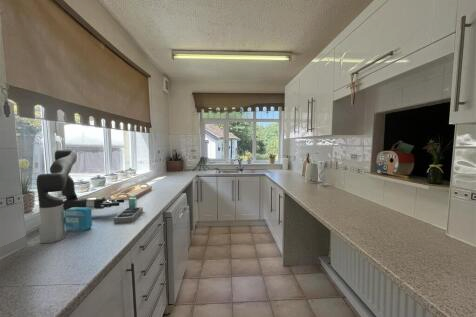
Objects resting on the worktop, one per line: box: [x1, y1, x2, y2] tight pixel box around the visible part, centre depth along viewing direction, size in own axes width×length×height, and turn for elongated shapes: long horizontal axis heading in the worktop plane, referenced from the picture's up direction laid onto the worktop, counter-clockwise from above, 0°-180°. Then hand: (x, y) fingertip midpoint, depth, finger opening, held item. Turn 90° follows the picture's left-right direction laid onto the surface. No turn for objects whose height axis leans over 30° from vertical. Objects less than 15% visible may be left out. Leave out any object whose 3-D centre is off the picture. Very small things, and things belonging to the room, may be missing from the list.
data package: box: [64, 207, 93, 232], centre depth 125 cm, size 12×4×12 cm, turn 89°
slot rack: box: [113, 206, 144, 224], centre depth 146 cm, size 22×11×4 cm, turn 8°
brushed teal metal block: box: [128, 197, 138, 210], centre depth 152 cm, size 4×4×10 cm
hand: (121, 202), depth 151 cm, fingers open, 8 cm apart
